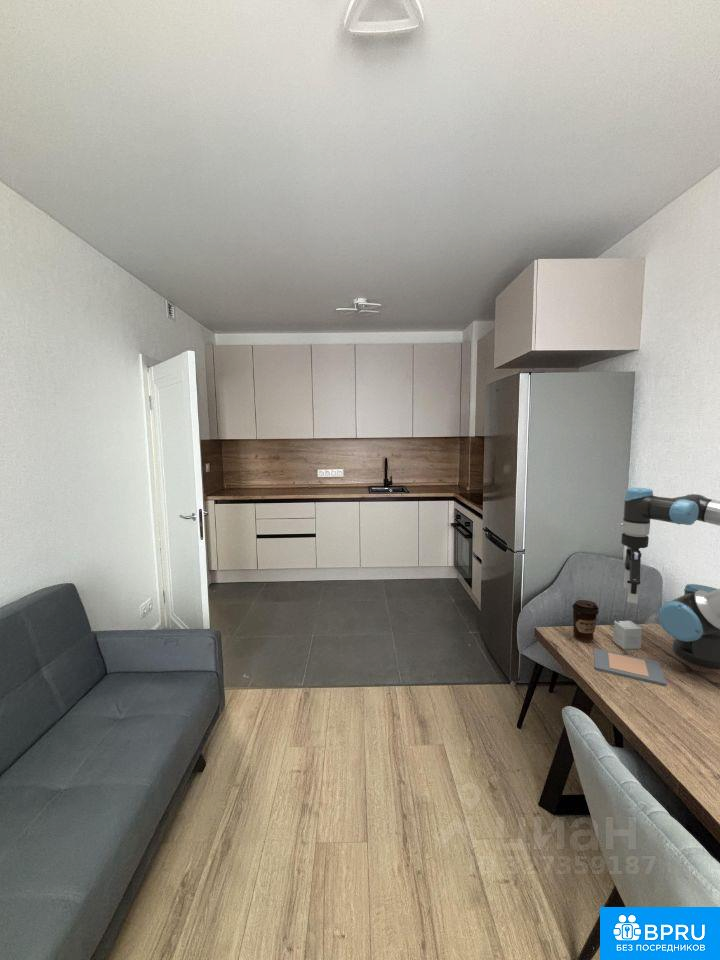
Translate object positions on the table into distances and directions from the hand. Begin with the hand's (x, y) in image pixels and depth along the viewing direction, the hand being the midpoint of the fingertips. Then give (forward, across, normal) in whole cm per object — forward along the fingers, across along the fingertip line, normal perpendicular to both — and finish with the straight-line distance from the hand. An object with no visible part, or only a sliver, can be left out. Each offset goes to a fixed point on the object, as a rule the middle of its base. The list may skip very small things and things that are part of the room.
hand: (630, 595), depth 143 cm
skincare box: (+18, 0, 0) cm, 18 cm away
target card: (+18, +16, -1) cm, 24 cm away
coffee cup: (+18, +2, -13) cm, 22 cm away
